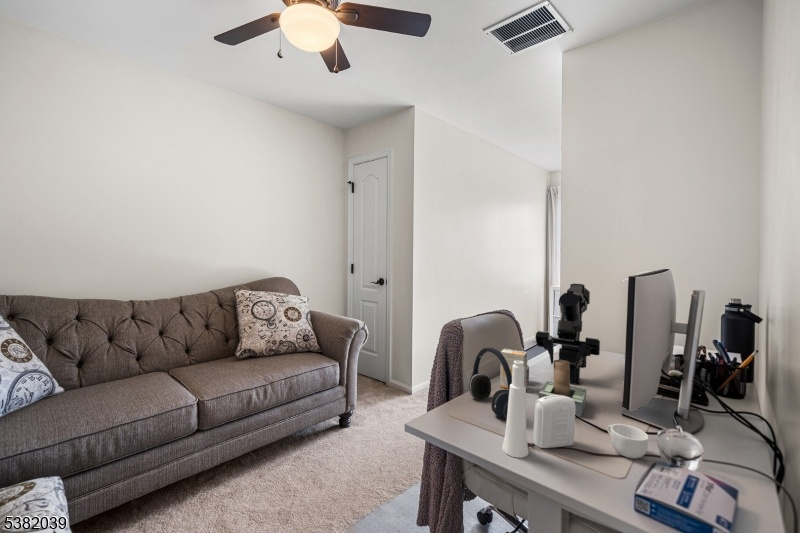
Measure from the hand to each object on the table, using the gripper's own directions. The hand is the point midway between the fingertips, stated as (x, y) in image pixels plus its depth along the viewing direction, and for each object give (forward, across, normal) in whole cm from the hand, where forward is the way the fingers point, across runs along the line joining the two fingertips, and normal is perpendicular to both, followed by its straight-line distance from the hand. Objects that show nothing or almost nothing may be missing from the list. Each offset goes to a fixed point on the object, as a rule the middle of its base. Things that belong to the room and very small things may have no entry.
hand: (563, 365), depth 111 cm
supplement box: (+4, -17, +14) cm, 23 cm away
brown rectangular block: (+8, 0, +10) cm, 12 cm away
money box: (+8, 0, +10) cm, 13 cm away
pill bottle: (0, -16, +19) cm, 25 cm away
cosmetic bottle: (+33, -6, -14) cm, 36 cm away
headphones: (+19, -18, 0) cm, 26 cm away
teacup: (+22, +16, -4) cm, 28 cm away
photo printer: (+27, +1, -8) cm, 28 cm away
